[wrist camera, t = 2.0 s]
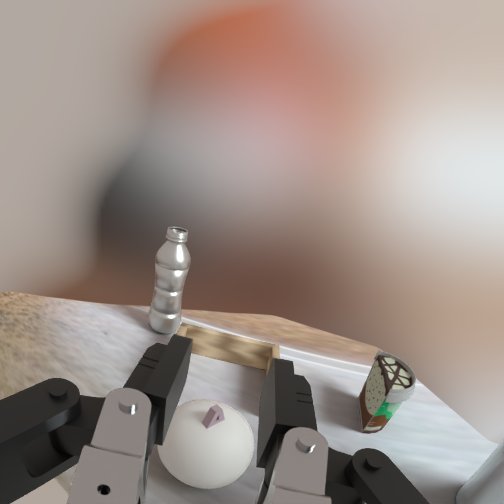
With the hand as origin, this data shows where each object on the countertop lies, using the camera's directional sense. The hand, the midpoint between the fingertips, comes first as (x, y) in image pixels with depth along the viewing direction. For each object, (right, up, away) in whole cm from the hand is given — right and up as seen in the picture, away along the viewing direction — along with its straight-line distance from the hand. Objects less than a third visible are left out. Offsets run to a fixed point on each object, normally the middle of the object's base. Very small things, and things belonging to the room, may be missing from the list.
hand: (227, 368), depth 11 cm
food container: (+22, -24, +34) cm, 47 cm away
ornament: (-5, -21, +19) cm, 29 cm away
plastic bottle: (-16, -11, +48) cm, 52 cm away
